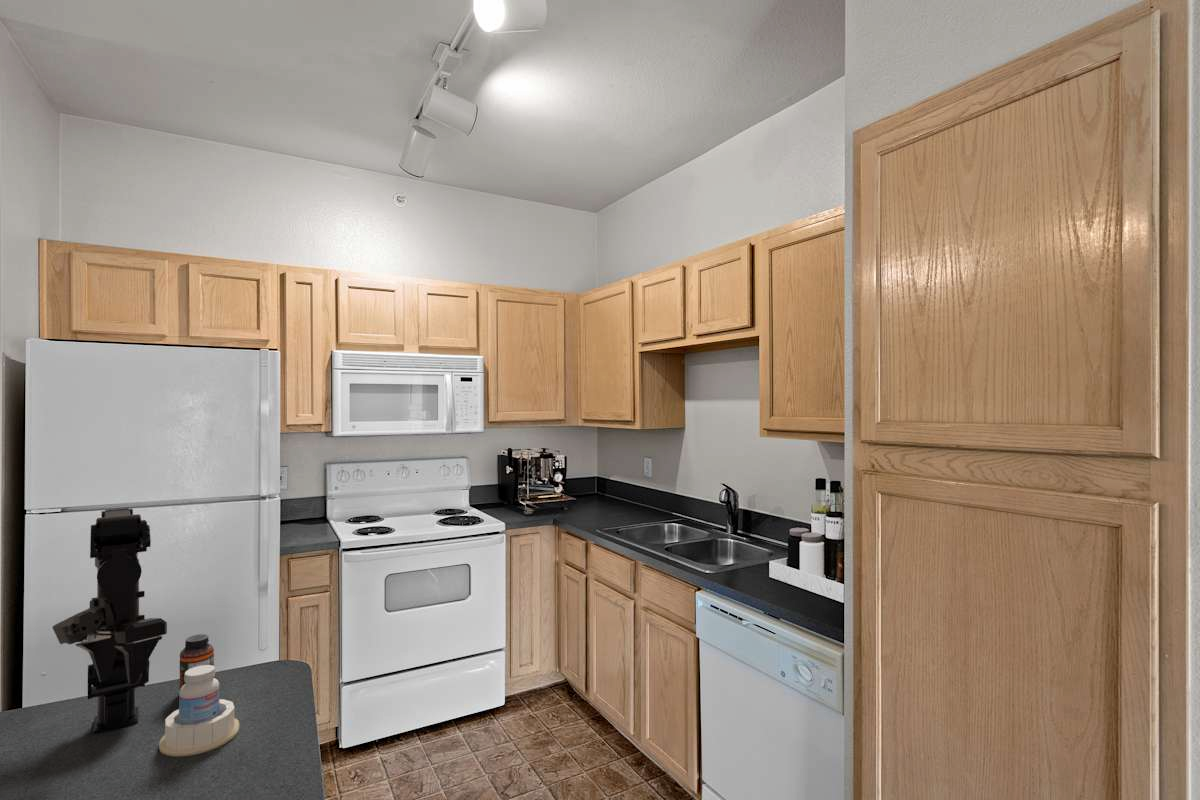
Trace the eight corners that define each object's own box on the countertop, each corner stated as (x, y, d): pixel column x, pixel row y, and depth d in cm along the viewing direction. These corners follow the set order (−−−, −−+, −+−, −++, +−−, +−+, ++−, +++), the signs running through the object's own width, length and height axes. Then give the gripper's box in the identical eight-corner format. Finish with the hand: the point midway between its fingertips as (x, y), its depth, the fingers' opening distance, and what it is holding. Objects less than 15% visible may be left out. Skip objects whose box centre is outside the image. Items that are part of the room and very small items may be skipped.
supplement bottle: (177, 690, 126) (178, 636, 126) (211, 682, 130) (211, 629, 130) (181, 701, 122) (181, 645, 122) (215, 692, 126) (216, 637, 126)
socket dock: (157, 733, 110) (158, 710, 110) (234, 713, 117) (234, 691, 117) (160, 765, 100) (160, 739, 100) (243, 740, 108) (244, 716, 108)
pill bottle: (198, 744, 105) (198, 679, 105) (169, 739, 107) (170, 675, 107) (227, 726, 111) (227, 664, 111) (200, 722, 113) (200, 661, 113)
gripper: (33, 599, 103) (31, 696, 101) (90, 597, 95) (89, 702, 92) (110, 586, 113) (110, 674, 110) (168, 583, 104) (169, 678, 102)
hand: (118, 682), depth 104 cm, fingers open, 9 cm apart
